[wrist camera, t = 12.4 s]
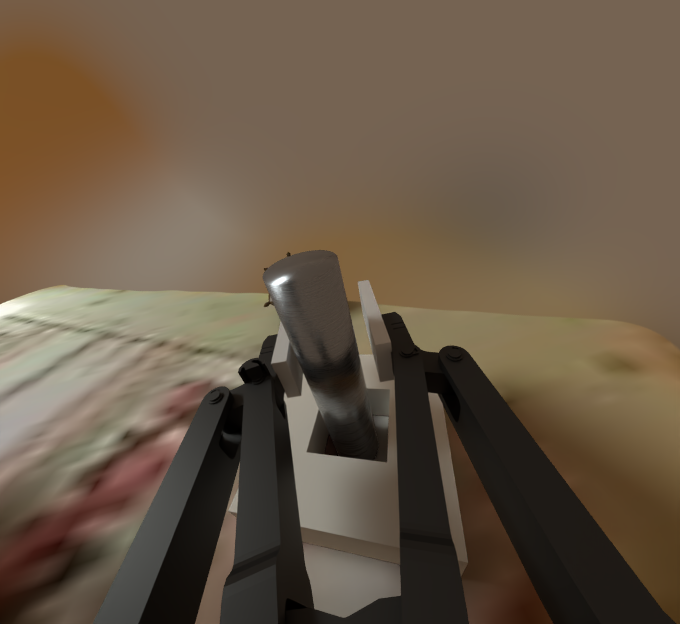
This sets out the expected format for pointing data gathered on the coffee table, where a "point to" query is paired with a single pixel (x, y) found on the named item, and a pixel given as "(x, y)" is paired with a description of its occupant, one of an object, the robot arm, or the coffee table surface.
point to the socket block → (359, 479)
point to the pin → (325, 346)
